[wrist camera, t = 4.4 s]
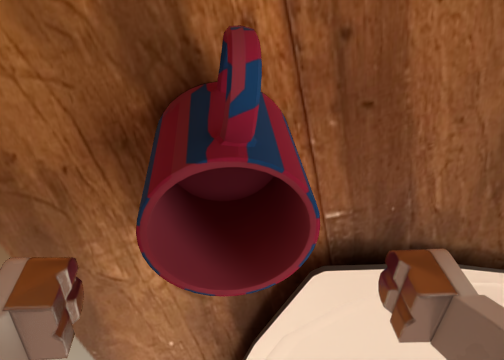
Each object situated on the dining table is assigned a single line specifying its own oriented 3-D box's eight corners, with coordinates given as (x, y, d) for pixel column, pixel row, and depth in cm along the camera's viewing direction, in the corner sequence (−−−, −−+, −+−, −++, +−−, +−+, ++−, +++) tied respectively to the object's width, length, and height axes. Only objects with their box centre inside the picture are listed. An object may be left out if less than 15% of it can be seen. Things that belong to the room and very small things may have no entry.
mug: (148, 189, 22) (129, 290, 16) (172, -12, 16) (156, 34, 11) (270, 205, 23) (291, 303, 17) (328, 24, 18) (385, 82, 12)
